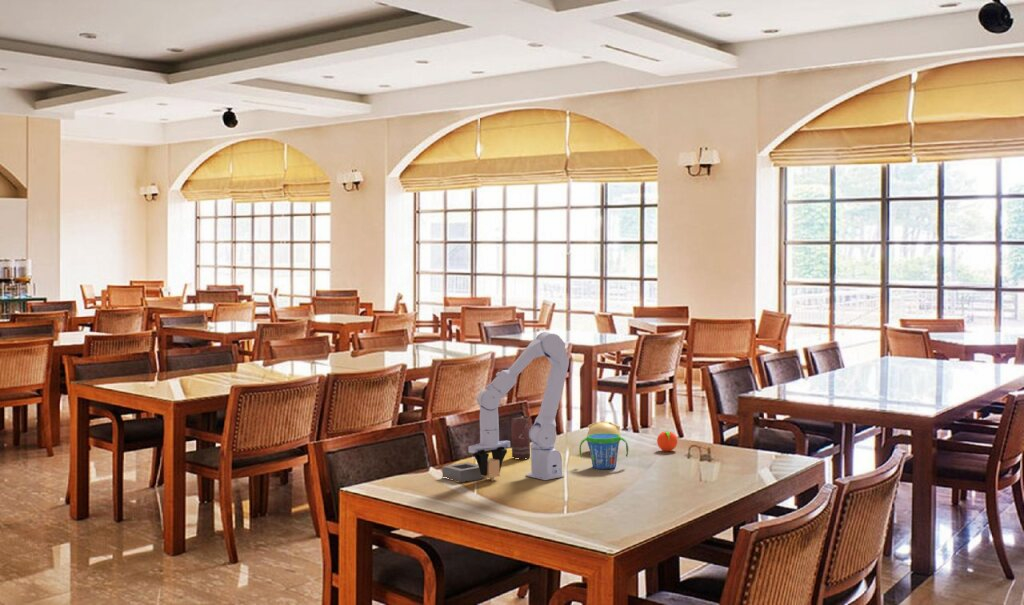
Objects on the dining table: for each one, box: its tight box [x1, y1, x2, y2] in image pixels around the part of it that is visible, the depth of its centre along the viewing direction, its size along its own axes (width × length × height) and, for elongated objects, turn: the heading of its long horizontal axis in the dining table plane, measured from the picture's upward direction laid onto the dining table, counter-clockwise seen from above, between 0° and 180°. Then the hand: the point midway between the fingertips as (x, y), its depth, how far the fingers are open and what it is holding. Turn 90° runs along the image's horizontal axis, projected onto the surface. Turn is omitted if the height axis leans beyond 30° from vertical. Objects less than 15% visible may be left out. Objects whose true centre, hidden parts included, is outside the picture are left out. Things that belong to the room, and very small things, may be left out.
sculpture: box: [586, 420, 621, 448], centre depth 343 cm, size 12×12×11 cm
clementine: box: [656, 430, 678, 452], centre depth 341 cm, size 8×7×7 cm
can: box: [510, 415, 531, 459], centre depth 334 cm, size 6×6×14 cm
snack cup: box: [579, 433, 629, 470], centre depth 315 cm, size 16×10×10 cm
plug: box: [481, 457, 501, 482], centre depth 300 cm, size 4×4×6 cm
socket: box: [441, 461, 484, 483], centre depth 304 cm, size 10×10×4 cm
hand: (490, 473), depth 300 cm, fingers open, 4 cm apart
